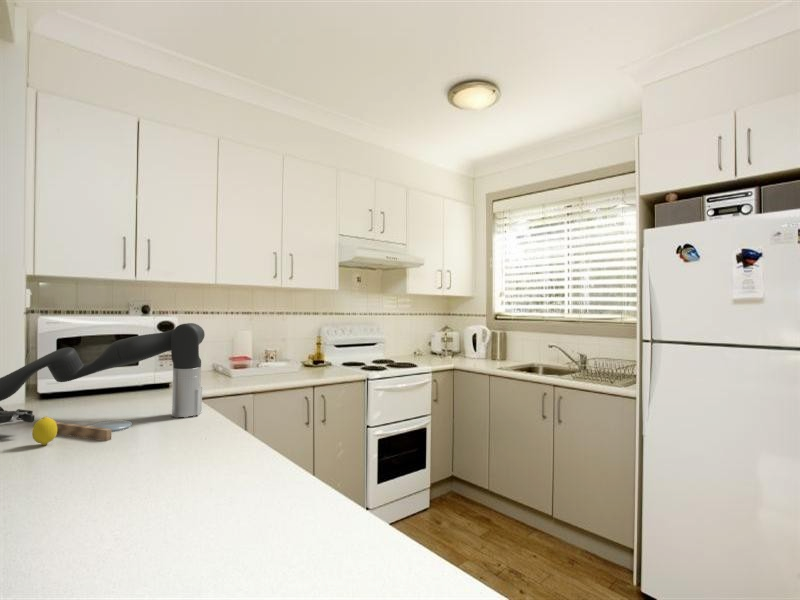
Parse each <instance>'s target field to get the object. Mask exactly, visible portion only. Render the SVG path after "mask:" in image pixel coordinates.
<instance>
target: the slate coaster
mask: <svg viewBox="0 0 800 600" xmlns="http://www.w3.org/2000/svg"><path fill="white" fill-rule="evenodd" d="M89 426H91V427H98V428H106V429H112V433H113V432H114V433H115V432H120V431H124V430H126V428H127V429H129V427H130V426H131V427H132V422H131V421H129V420H110V421H108V420H107V421H103V422H97V423H94V424H91V425H89ZM131 427H130V428H131ZM123 429H124V430H123Z"/></svg>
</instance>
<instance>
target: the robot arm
mask: <svg viewBox="0 0 800 600" xmlns="http://www.w3.org/2000/svg"><path fill="white" fill-rule="evenodd" d="M205 335H206V334H205V330H204V329H203V327H201V326H200V325H199V324H198V323H197V324H196V323H194V322H193V323H191V322H188V323H187V322H186V323H181V324H179V325H177V326H175V328H172V329H170V330H167V331H163V332H157V333H149V334H148V333H147V334H142V335H135V336H130V337H126V338H122V339H118V340H116V341H114V342H112V343H111V344H109V345H108V346H107V348H106V349H105V350H103V351H102V353H101V354H100V355H99V356H98V357H96V358H95V359H94V360H93V361H90V362H87V363H83V361H82V360H81V358H80V356H79V354H78V352H77V350H76V349H75V348H73V347H71V346H70V347H69V346H68V347H63V348H59V349H57V350H54V351H52V352H50V353H48V354H45V355H44V356H41V357H39V358H38V359H36V360H33V361H32V362H30V363H28V364H26V365H23V366H22V367H19V368H18V369H16V370H14V371H12V372H10V373H9V374H6V375H4V376H2V377H0V402H2V401H4V400H7V399H8V398H10V397H12V396H14V394H16V393H17V392H18V391H19V390H20V389H21V388H22V387H23V386H24V384H25V383H27V382H28V380H29V379H31V377H32V376H33V375H35V374H36V373H37V372H39V371H40V370H42V369H44V368H47V369H48V371H49V372H50V373H51V376H52V377H53V379H54V380H55V381H56V382H57V383H66V382H71V381H73V380H77V379H80V378H83V377H86V376H90V375H92V374H95V373H99V372H103V371H106V370H109V369H112V368H117V367H122V366H126V365H130V364H135V363H138V362H141V361H145V360H148V359H150V358H153V357H156V356H159V355H161V354H164V353H167V352H171V353H170V355H171V356H170V358H171V361H172V396H171V397H172V399H171V400H172V401H171V402H172V403H171V404H172V405H171V417H173V416H174V417H173V418H178V417H184V418H189V417H188V416H193V415H198V414H199V413H200V412H201V411H202V410H203V407H202V406H203V405H202V404H203V387H202V386H201V385H202V384H201V383H202V360H201V358H200V353H199V351H200V349H199V347H200V344H201V343H203V340H204V339H205ZM33 411H34V410H28V409H20V408H19V409H15V410H10V411H9V410H5V409H4V408H3V407H2V406H0V426H4V425H5V424H7V425H8V424H16V423H18V422H25V423H34V421H35V414H33ZM202 412H203V411H202ZM202 412H201V413H202ZM201 413H200V414H201ZM200 414H199V415H200ZM199 415H198V416H199ZM193 417H194V416H193Z"/></svg>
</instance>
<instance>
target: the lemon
mask: <svg viewBox="0 0 800 600" xmlns="http://www.w3.org/2000/svg"><path fill="white" fill-rule="evenodd" d="M56 422H57V421H55V419H53V418H50V417H48V416H44V417H43V418H41V419H38V420H37V421H36V422H35V423H34V425H33V427H32V431H31V432H32V433H31V434H32V435H31V436H32V439H33V440H34V442H36V443H37V444H41V445H42V446H46V445H48V443H50V442H52V441H53V440H54V439H55V438H56V436H57V435H58V434H57V424H56Z"/></svg>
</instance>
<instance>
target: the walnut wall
mask: <svg viewBox="0 0 800 600" xmlns="http://www.w3.org/2000/svg"><path fill="white" fill-rule="evenodd" d="M55 422H56V424H57V435H62V434H64V436H69V435H71V436H70V437H76V438H85V439H90V440H91V439H92V440H97V441H104V442H105V441H106V442H107V441H111V440H112V433H113V432H112V429H106V428H98V427H91V426H90V425H89V426H88V425H82V424H74V423H66V422H60V421H55Z"/></svg>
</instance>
